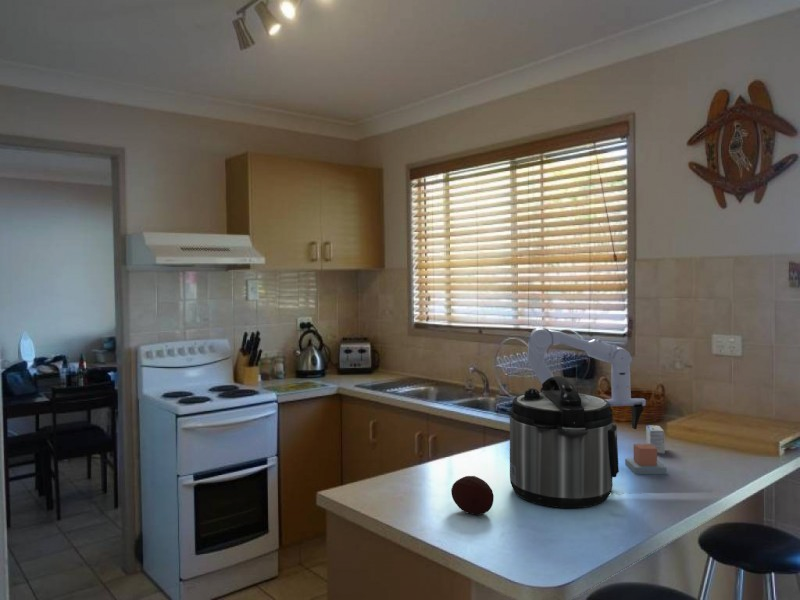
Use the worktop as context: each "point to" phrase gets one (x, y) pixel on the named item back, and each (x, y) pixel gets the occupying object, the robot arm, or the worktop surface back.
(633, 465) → the top block
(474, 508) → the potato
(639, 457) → the red cube
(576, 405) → the pressure cooker
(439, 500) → the worktop surface
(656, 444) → the medicine box
